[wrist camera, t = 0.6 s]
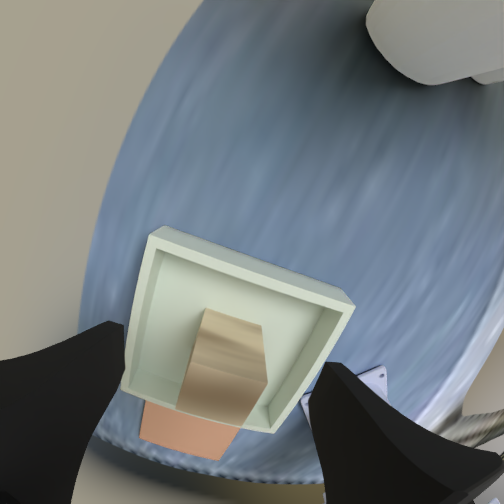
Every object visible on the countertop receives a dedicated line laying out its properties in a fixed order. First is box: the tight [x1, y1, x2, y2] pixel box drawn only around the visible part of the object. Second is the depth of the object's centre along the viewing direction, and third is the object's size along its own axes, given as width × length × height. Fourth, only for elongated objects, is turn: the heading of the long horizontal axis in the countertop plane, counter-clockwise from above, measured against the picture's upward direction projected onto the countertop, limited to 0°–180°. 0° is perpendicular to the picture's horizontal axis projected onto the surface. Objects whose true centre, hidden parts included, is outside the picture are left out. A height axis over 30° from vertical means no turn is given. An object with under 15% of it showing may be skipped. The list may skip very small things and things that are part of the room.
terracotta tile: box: [139, 400, 240, 461], centre depth 21 cm, size 9×9×1 cm
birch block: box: [175, 308, 268, 427], centre depth 16 cm, size 4×4×6 cm
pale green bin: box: [120, 225, 356, 434], centre depth 17 cm, size 13×13×3 cm
